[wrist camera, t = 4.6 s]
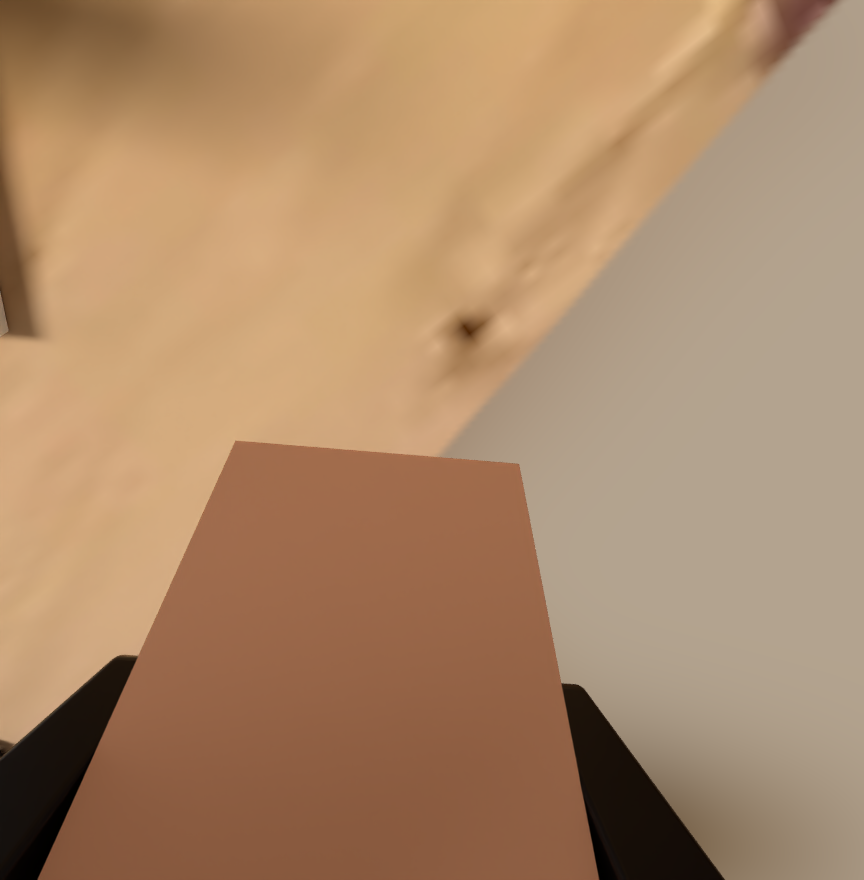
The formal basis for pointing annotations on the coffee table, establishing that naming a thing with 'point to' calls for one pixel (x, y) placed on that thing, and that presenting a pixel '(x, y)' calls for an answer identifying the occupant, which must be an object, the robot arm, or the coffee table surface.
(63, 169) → the coffee table surface
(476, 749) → the domino
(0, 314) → the domino board
